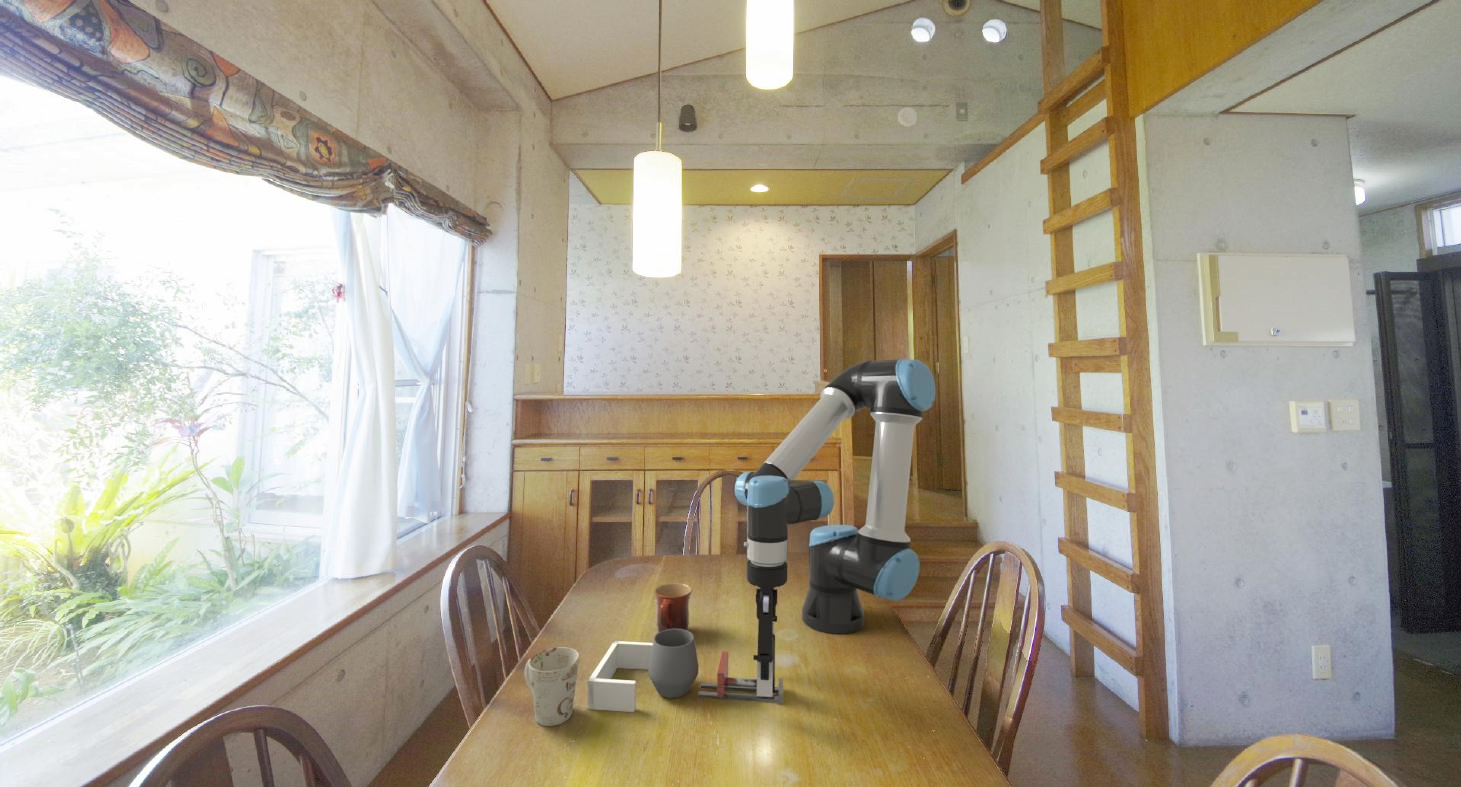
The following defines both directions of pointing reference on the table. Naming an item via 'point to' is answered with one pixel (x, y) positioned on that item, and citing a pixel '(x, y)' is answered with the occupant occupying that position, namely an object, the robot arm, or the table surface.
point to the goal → (617, 692)
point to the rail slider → (740, 682)
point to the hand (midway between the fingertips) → (765, 674)
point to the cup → (673, 662)
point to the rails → (742, 697)
